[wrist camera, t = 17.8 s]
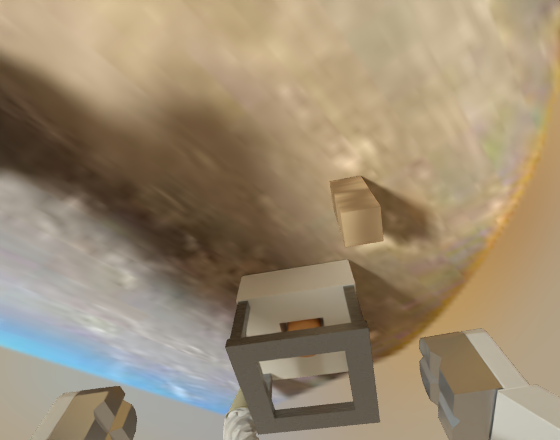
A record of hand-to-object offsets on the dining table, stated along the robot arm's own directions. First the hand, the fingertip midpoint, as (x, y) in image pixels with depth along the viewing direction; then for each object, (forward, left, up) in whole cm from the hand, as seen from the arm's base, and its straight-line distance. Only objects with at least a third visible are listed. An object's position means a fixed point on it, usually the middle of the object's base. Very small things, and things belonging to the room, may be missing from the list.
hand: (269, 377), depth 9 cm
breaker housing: (-2, -23, -29) cm, 37 cm away
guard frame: (-2, -23, -24) cm, 33 cm away
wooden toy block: (+6, -7, -29) cm, 31 cm away
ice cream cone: (-12, -33, -29) cm, 46 cm away
